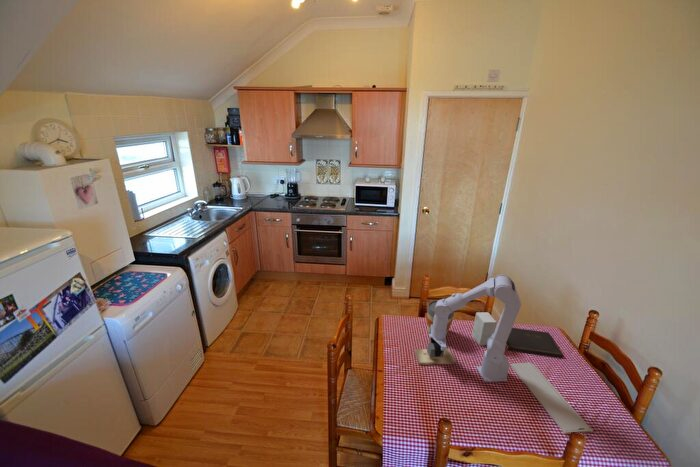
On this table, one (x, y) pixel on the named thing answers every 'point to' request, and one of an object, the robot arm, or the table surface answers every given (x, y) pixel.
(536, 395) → the baseboard molding
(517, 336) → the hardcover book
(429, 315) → the reusable coffee cup
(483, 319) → the small box
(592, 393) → the table surface
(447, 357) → the pine board
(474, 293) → the robot arm
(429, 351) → the block
